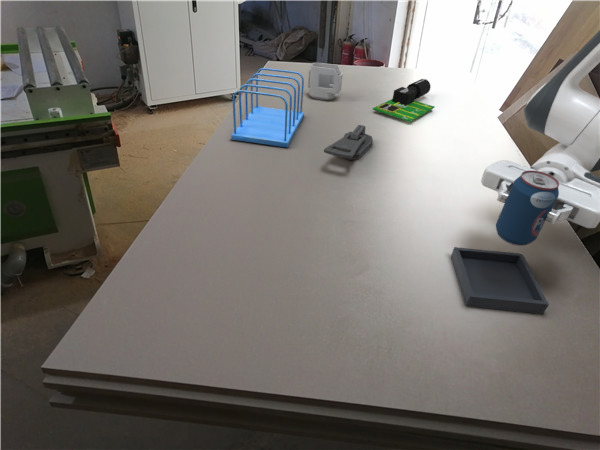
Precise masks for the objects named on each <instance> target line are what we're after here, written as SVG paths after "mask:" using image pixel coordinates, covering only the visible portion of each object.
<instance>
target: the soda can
mask: <svg viewBox="0 0 600 450" xmlns="http://www.w3.org/2000/svg"><path fill="white" fill-rule="evenodd" d="M558 187H559V182H558V180H557V179H556V178H554V177H553V176H551V175H549V174H546V173H543V172H539V171H525V172H523V173H522V174H521V176H520V177H518V178H517V179H516V180H515V181H514V183H513V185H512V187H511V190H510V192H509V194H508V197H507V199H506V202H505V203H503V206H502V208H501V211H500V212H499V216H498V218H497V220H496V222H495V230H496V233H497V236H498V237H499V238H500V239H501V240H502V241H503V242H506V244H507V243H508V244H510V245H512V246H517V247H518V246H519V247H523V246H527V245H529V244H531V243H533V242H535V241H536V240H537V239H538V237H539V234H540V232H541V230H542V229H543V227H544V225H545V223H546V222H547V221H546V220H545V219H546V217H547V215H548V213H549V212H550V211H551V209H552V207H553V205H554V203H555V201H556V199H557V198H558V195H559V191H558Z"/></svg>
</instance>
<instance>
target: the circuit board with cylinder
mask: <svg viewBox="0 0 600 450" xmlns="http://www.w3.org/2000/svg"><path fill="white" fill-rule="evenodd" d="M431 86H432V85H431V82H430V81H429V80H428V79H426V78H421V79H418V80H416V81H413V82H412V83H410V84H408V85H407V87H404V86H401V87H398V88H396V89H394V90H393V94H392V98H390V99H389V100H386V101H385V102H382V103H380V104H378V105H377V106H374V107H372V110H373V111H375V112H379V113H382V114H384V115H388V116H391V117H394V118H397V119H400V120H403V121H406V122H409V123H410V122H413V121H414V120H416V119H418V118H419V117H421V116H423V115H424V114H426V113H428V112H429V111H432V110H433V109H435V106H434V105H432V104H431V105H430V104H428V103H424V102H421V101H418V100H417V99H419V98H421V97H423V96H425V95H427V94H428V93H429V92H430V91H431Z"/></svg>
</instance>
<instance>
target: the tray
mask: <svg viewBox="0 0 600 450" xmlns="http://www.w3.org/2000/svg"><path fill="white" fill-rule="evenodd" d="M450 259H451V261H452V265H453V268H454V271H455V274H456V278H457V282H458V284H459V289H460V291H461V295H462V298H463V301H464V304H465V307H471V308H480V309H488V310H500V311H508V312H517V313H518V312H519V313H529V314H539V315H544V313H545V311H546V310H547V308H549V305H550V303H549V302H548V300H547V297H546V296H545V294H544V292H543V290H542V288H541V287H540V284H539V283H538V281H537V279H536V277H535V275H534V273H533V271H532V269H531V266H530V265H529V263H528V261H527V259H526V257H525V256H524V254H523V253H518V252H511V251H498V250H488V249H477V248H467V247H457V246H454V247H453V250H452V252H451V255H450Z"/></svg>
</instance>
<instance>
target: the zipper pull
mask: <svg viewBox="0 0 600 450" xmlns="http://www.w3.org/2000/svg"><path fill="white" fill-rule="evenodd" d="M373 143H374V139H373V136H372V135H370V134H367V133H366V126H365V125H363V124H357V126H356V127H355V128H354V130H353V131H349V132H346V133H344V135H343V137H341V138H340V139H338V140H337V141H334V143H332V144H329V145H328V146H327V147H325V148H324V149H323V153H325V154H328V155H331V156H335V157H339V158H342V159H345V160H349V161H356V160H357V161H359V160H361V158H362V157H364V155H365V154H366V153H367V152H369V151H370V150H371V149H372V147H373Z"/></svg>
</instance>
